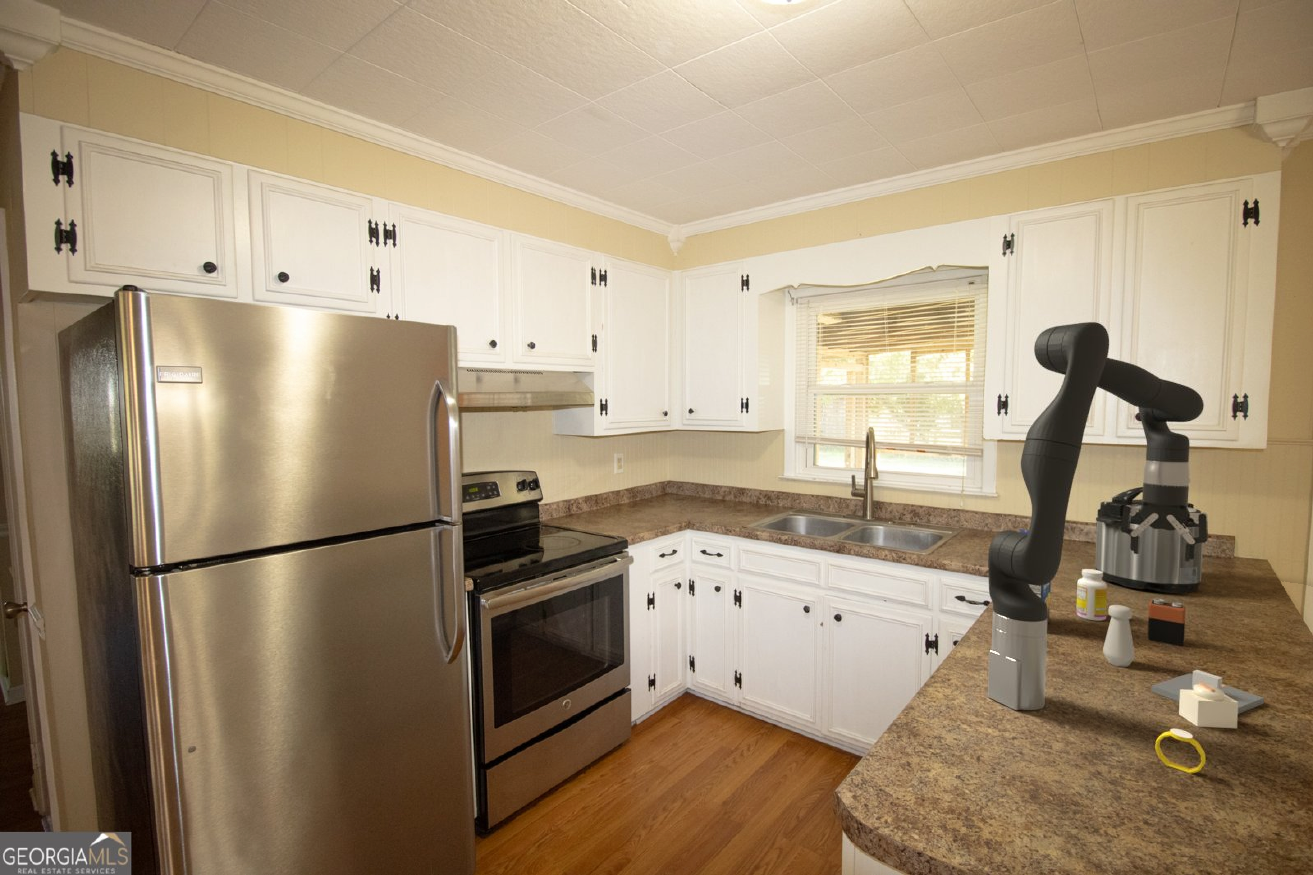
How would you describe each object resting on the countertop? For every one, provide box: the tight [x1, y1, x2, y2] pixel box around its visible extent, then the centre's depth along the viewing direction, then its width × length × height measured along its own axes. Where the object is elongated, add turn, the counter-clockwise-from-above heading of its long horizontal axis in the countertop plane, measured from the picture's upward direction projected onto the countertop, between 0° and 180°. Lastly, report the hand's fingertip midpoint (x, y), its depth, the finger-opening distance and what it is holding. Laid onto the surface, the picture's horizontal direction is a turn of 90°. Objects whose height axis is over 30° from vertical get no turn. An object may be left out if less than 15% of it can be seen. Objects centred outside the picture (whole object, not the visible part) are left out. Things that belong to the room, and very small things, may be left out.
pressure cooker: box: [1094, 486, 1204, 594], centre depth 199 cm, size 30×28×32 cm
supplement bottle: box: [1076, 568, 1108, 622], centre depth 167 cm, size 7×7×13 cm
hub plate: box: [1150, 669, 1265, 715], centre depth 121 cm, size 14×12×5 cm
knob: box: [1178, 682, 1239, 729], centre depth 112 cm, size 4×7×6 cm
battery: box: [1147, 597, 1187, 647], centre depth 150 cm, size 4×7×10 cm, turn 48°
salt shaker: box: [1102, 604, 1136, 668], centre depth 137 cm, size 6×6×13 cm
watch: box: [1154, 728, 1206, 775], centre depth 98 cm, size 6×3×6 cm, turn 41°
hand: (1161, 557), depth 131 cm, fingers open, 8 cm apart
